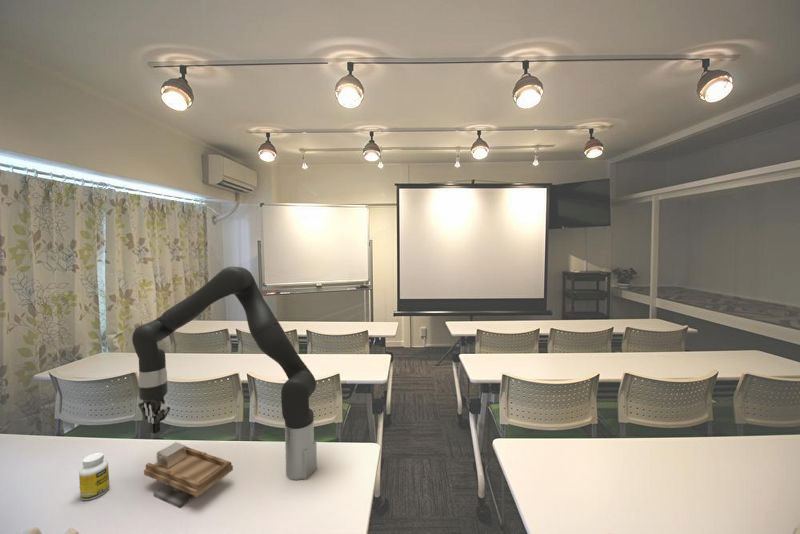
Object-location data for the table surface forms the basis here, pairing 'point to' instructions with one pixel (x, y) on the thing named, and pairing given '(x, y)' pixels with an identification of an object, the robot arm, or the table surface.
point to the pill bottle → (94, 476)
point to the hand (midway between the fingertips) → (155, 432)
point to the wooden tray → (188, 476)
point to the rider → (171, 455)
